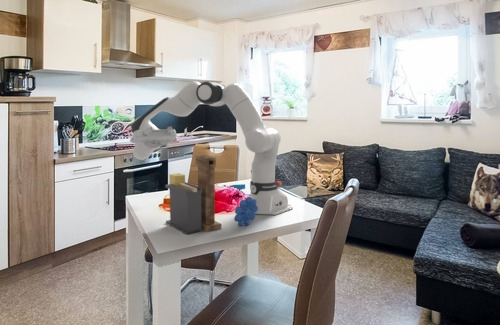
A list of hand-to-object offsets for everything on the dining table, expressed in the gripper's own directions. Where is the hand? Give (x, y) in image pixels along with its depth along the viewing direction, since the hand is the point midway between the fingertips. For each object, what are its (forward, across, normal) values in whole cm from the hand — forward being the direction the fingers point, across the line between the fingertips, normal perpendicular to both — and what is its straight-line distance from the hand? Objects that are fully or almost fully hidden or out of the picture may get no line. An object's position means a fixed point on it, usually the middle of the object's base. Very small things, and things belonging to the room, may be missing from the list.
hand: (160, 128), depth 165 cm
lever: (-26, +49, +30) cm, 63 cm away
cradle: (+4, -4, +46) cm, 47 cm away
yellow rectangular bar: (+13, -4, +33) cm, 36 cm away
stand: (+8, +4, +49) cm, 50 cm away
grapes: (+15, +18, +53) cm, 58 cm away
